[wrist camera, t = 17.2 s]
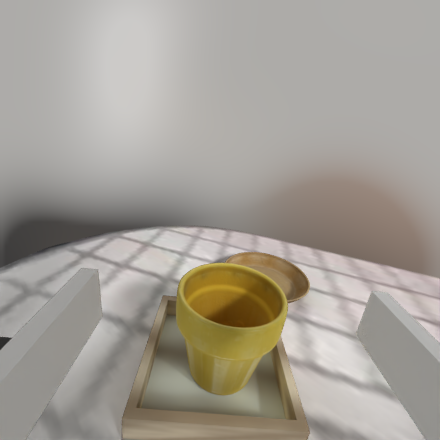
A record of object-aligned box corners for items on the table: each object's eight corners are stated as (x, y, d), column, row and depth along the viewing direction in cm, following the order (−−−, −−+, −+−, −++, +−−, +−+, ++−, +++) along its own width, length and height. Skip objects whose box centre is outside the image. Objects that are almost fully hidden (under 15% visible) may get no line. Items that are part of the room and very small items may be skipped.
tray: (300, 455, 20) (309, 432, 19) (122, 442, 19) (121, 418, 18) (267, 323, 34) (271, 306, 33) (162, 313, 33) (163, 295, 32)
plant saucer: (319, 289, 44) (323, 277, 43) (279, 331, 33) (284, 315, 32) (252, 256, 53) (254, 245, 52) (204, 280, 42) (205, 267, 41)
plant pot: (224, 316, 33) (235, 253, 30) (287, 375, 26) (310, 301, 23) (154, 353, 27) (157, 277, 23) (212, 445, 20) (229, 355, 16)
